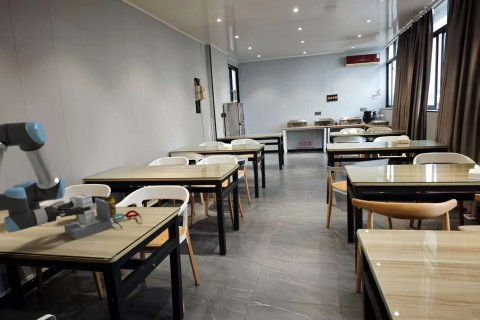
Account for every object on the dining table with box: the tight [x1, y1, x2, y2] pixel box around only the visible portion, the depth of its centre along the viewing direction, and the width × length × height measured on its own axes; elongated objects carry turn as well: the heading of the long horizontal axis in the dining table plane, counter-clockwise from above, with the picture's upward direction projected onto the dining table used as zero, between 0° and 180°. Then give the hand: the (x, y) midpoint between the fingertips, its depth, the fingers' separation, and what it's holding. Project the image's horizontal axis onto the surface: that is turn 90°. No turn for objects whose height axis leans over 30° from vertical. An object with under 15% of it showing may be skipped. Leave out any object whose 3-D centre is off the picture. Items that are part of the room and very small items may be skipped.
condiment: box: [103, 195, 119, 219], centre depth 180 cm, size 7×8×12 cm
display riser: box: [63, 197, 113, 240], centre depth 161 cm, size 16×18×14 cm
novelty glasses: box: [112, 209, 143, 230], centre depth 168 cm, size 14×15×5 cm
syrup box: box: [74, 193, 96, 224], centre depth 160 cm, size 6×6×14 cm
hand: (91, 203), depth 162 cm, fingers open, 13 cm apart
